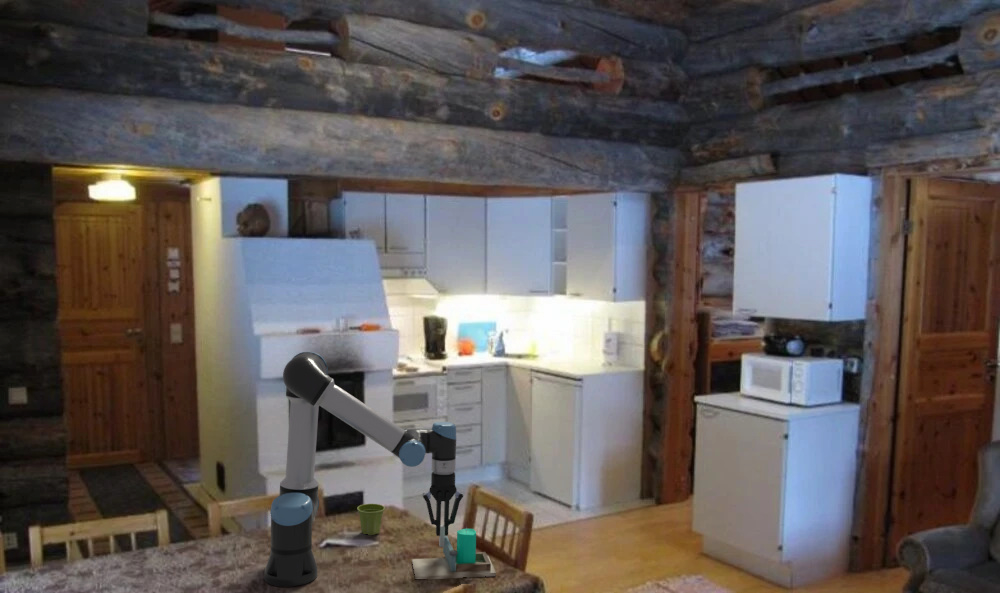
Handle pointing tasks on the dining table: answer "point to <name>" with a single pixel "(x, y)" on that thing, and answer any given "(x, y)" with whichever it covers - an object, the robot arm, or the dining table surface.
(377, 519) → the plant pot
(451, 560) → the keeper
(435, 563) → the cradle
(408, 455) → the robot arm
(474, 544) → the candle
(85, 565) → the dining table surface
